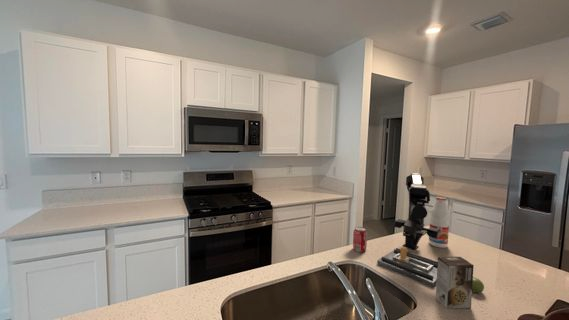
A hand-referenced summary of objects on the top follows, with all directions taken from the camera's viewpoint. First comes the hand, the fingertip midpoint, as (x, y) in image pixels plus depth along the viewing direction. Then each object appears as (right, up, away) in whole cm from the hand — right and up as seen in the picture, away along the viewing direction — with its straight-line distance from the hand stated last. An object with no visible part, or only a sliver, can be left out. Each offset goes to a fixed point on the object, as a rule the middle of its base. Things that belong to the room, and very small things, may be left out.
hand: (415, 245), depth 111 cm
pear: (+15, -12, -14) cm, 23 cm away
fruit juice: (+29, -10, +28) cm, 42 cm away
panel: (-1, -11, +1) cm, 11 cm away
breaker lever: (-3, -8, +4) cm, 10 cm away
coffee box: (+1, -13, -23) cm, 27 cm away
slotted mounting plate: (-1, -9, +2) cm, 9 cm away
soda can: (-20, -9, +19) cm, 29 cm away
